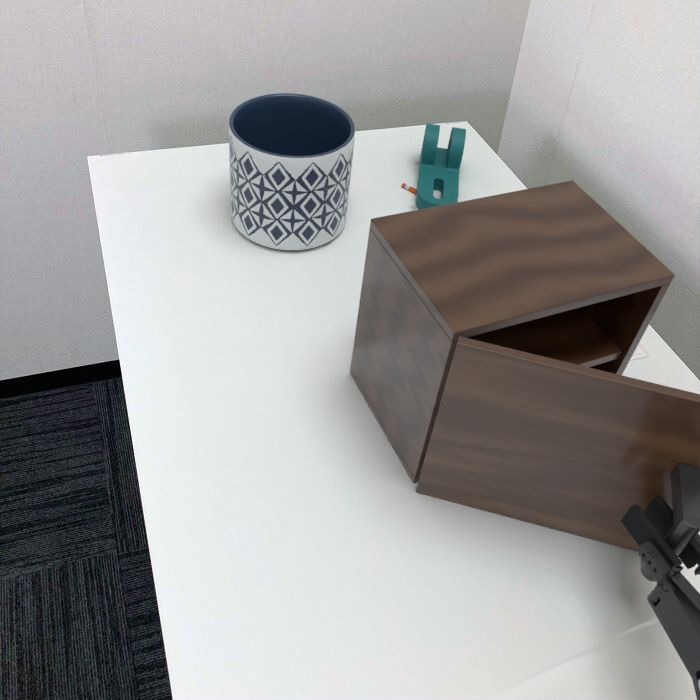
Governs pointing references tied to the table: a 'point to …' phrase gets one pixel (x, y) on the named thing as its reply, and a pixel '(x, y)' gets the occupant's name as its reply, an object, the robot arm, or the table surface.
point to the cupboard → (494, 297)
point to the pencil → (409, 188)
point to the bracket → (439, 167)
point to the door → (563, 445)
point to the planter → (290, 170)
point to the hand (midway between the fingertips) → (640, 508)
